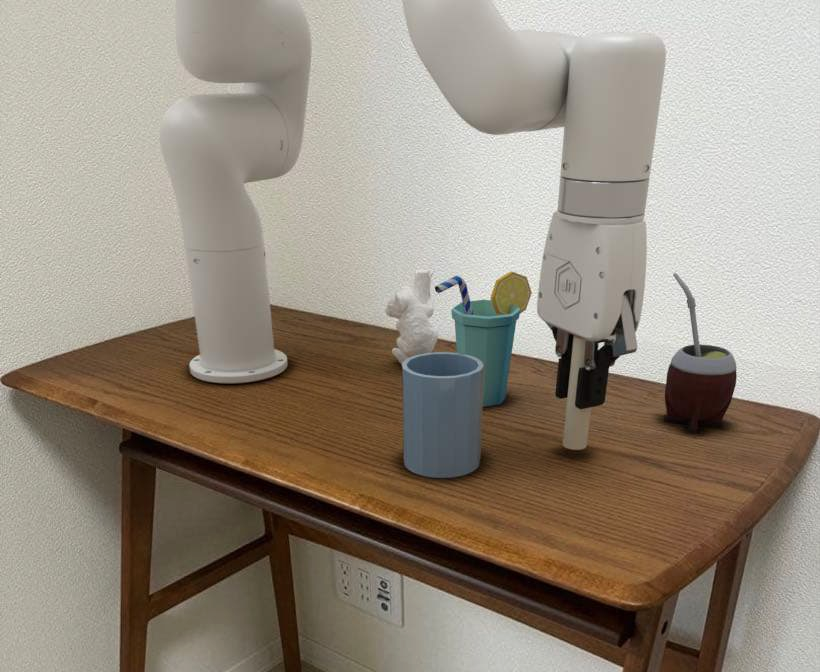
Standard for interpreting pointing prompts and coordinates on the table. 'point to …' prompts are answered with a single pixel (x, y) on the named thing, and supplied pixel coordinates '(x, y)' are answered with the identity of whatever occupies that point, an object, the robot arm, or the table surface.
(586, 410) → the beige cylinder rod
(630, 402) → the table surface
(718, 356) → the mate gourd
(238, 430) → the table surface
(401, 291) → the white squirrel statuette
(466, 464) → the tumbler
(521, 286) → the cup
